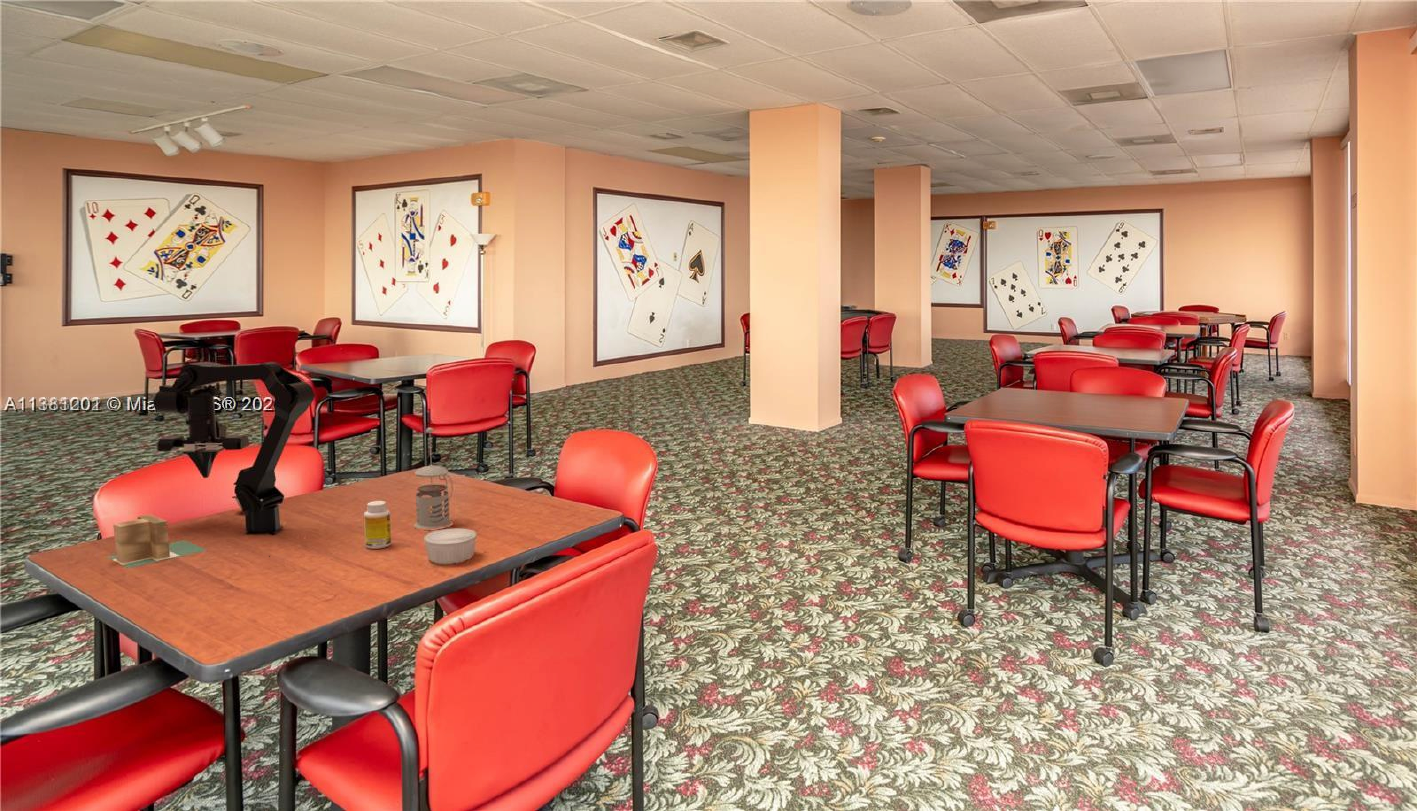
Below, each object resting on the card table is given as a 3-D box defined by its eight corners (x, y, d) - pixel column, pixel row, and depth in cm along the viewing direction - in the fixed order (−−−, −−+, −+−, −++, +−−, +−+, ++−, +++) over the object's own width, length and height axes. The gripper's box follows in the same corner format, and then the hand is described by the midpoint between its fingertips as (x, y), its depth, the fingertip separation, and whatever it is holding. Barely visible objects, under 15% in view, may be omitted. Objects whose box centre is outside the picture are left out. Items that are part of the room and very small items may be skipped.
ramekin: (448, 569, 178) (447, 545, 177) (413, 560, 184) (412, 537, 183) (488, 556, 187) (487, 533, 187) (453, 547, 193) (452, 525, 192)
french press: (404, 528, 208) (399, 429, 205) (435, 516, 219) (432, 422, 215) (436, 532, 205) (432, 431, 201) (466, 520, 215) (463, 424, 212)
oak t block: (153, 548, 189) (150, 514, 188) (169, 556, 183) (167, 521, 182) (111, 557, 182) (108, 521, 181) (128, 565, 177) (124, 529, 176)
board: (184, 542, 195) (184, 540, 195) (207, 552, 188) (207, 549, 188) (106, 558, 183) (106, 556, 183) (128, 570, 176) (128, 567, 176)
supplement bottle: (392, 547, 192) (390, 504, 191) (366, 550, 190) (364, 507, 189) (390, 541, 197) (388, 498, 196) (364, 544, 195) (362, 501, 193)
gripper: (255, 409, 211) (259, 469, 213) (175, 410, 208) (180, 471, 211) (237, 415, 200) (242, 479, 202) (153, 416, 198) (158, 481, 200)
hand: (206, 477), depth 204 cm, fingers closed
